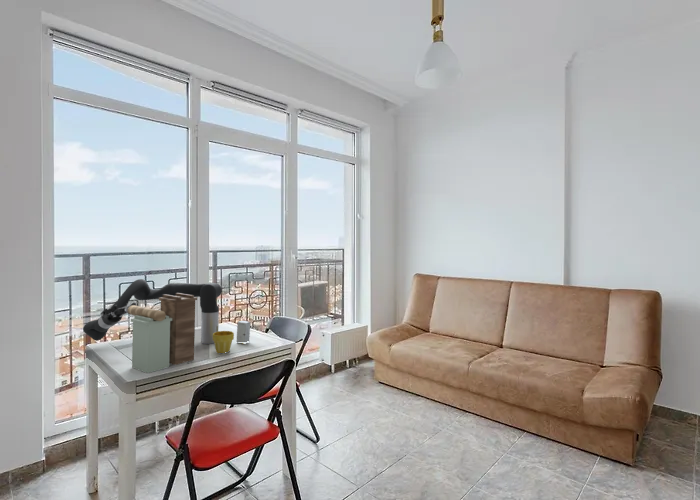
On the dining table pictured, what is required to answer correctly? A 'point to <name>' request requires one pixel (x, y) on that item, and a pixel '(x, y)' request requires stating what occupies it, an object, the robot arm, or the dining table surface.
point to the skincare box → (243, 331)
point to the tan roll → (147, 312)
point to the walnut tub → (180, 326)
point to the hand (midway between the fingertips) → (126, 305)
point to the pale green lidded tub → (150, 343)
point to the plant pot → (223, 341)
